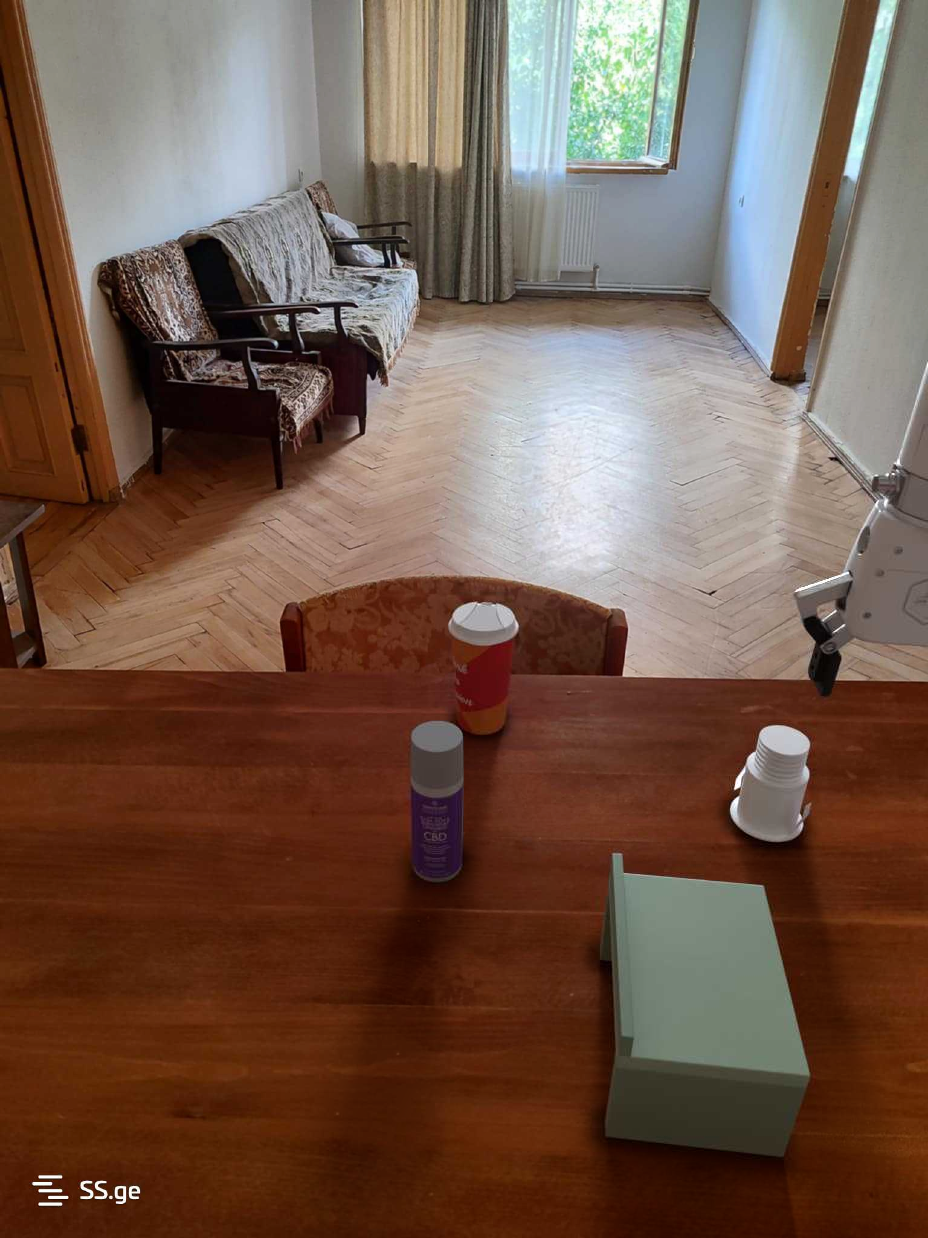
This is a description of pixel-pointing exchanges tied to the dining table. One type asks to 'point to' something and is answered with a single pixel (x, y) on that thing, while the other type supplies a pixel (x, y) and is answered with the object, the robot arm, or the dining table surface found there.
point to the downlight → (773, 786)
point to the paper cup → (482, 664)
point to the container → (437, 800)
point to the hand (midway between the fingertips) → (879, 691)
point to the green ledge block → (699, 1016)
